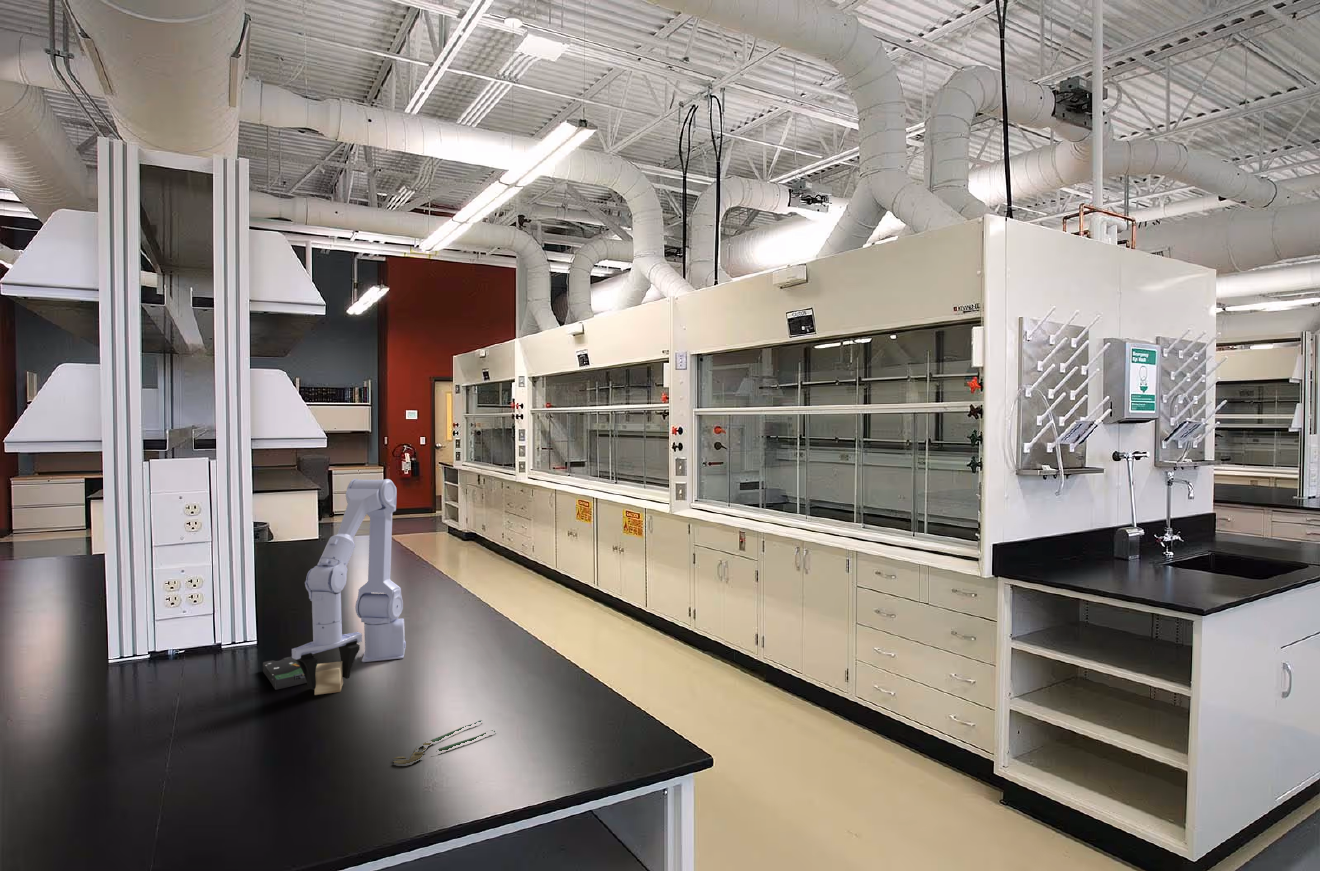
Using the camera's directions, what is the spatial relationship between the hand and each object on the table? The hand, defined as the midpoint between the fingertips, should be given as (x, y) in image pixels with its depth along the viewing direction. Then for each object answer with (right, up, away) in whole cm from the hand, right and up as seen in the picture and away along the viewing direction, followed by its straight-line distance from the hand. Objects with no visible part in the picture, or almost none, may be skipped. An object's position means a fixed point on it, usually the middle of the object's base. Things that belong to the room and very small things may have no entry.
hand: (329, 682), depth 157 cm
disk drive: (-12, -2, +9) cm, 15 cm away
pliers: (+33, -3, -27) cm, 42 cm away
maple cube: (0, -1, 0) cm, 1 cm away
